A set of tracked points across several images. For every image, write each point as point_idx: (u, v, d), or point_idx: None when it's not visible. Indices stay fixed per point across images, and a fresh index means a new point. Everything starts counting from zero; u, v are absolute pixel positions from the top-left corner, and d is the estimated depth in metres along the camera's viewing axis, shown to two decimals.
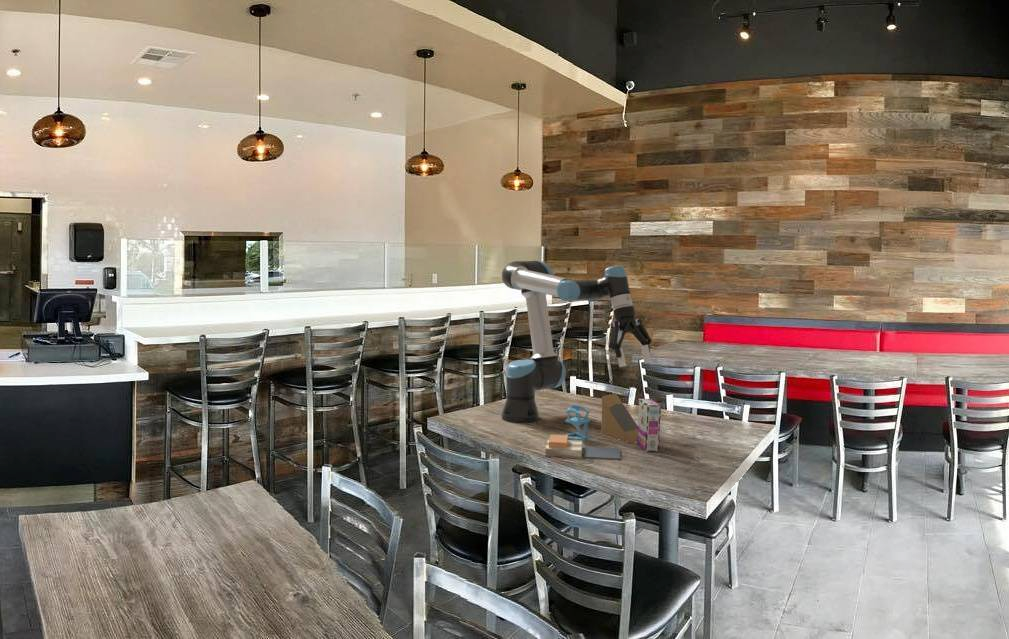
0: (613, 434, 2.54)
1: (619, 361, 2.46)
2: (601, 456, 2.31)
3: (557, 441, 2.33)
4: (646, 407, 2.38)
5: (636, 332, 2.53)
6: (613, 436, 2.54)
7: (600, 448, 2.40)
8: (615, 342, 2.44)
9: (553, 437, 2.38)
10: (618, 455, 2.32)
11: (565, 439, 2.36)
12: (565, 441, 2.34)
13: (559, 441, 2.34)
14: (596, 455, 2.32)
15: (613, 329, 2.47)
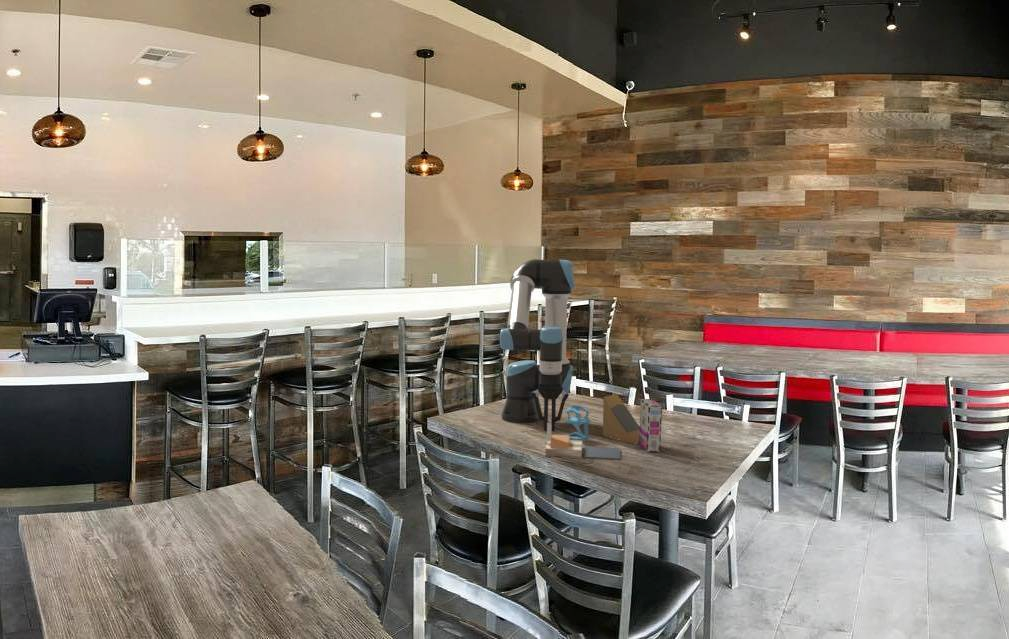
0: (615, 435, 2.53)
1: None
2: (601, 456, 2.31)
3: (558, 441, 2.33)
4: (647, 408, 2.37)
5: None
6: (615, 437, 2.53)
7: (600, 448, 2.40)
8: (539, 415, 2.36)
9: (555, 437, 2.38)
10: (618, 455, 2.32)
11: (567, 439, 2.36)
12: (566, 441, 2.33)
13: (561, 441, 2.33)
14: (596, 455, 2.32)
15: None
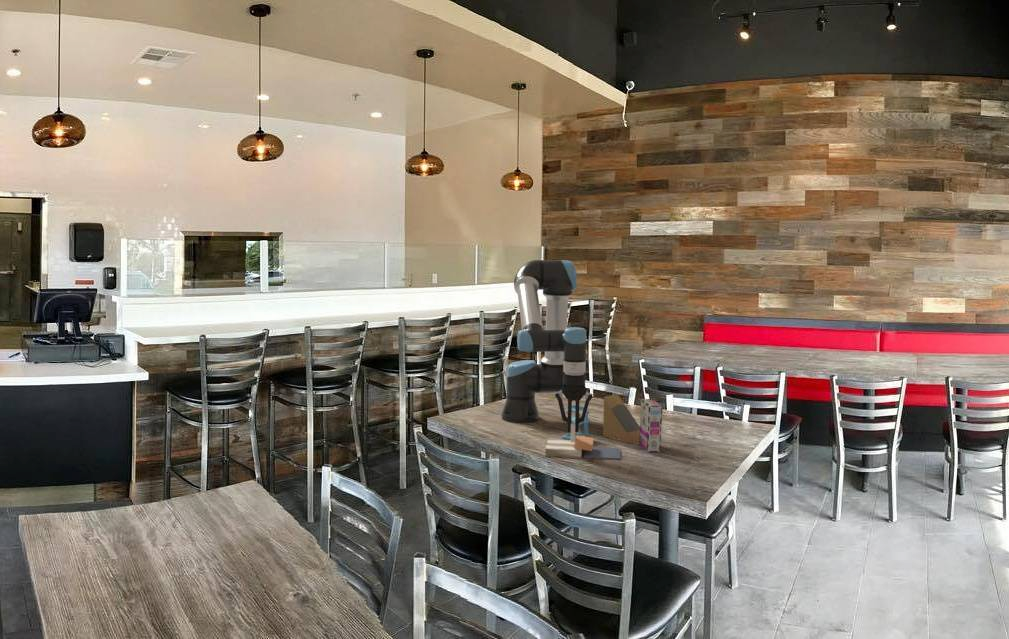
0: (615, 435, 2.53)
1: None
2: (601, 456, 2.31)
3: (583, 443, 2.32)
4: (647, 408, 2.37)
5: None
6: (615, 437, 2.53)
7: (600, 448, 2.40)
8: (563, 416, 2.35)
9: (579, 438, 2.37)
10: (618, 455, 2.32)
11: (591, 441, 2.35)
12: (591, 444, 2.32)
13: (585, 443, 2.32)
14: (596, 455, 2.32)
15: None
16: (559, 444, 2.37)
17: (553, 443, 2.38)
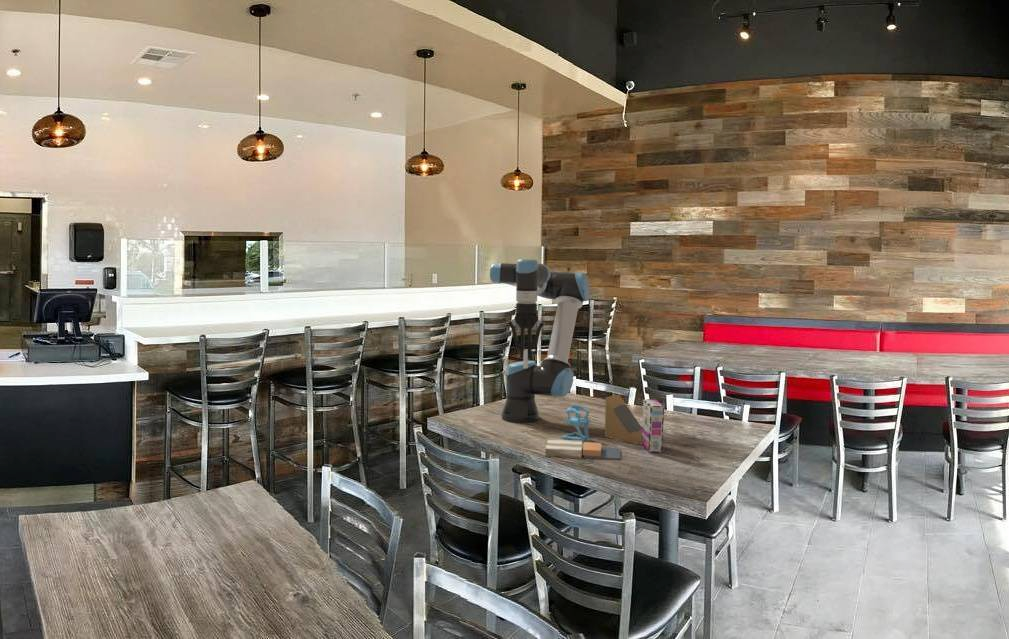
0: (617, 435, 2.53)
1: None
2: (601, 456, 2.31)
3: (591, 449, 2.32)
4: (649, 408, 2.37)
5: None
6: (617, 437, 2.53)
7: None
8: (516, 344, 2.48)
9: (587, 445, 2.36)
10: (618, 455, 2.32)
11: (599, 447, 2.35)
12: (599, 449, 2.32)
13: (593, 449, 2.32)
14: None
15: None
16: (559, 444, 2.37)
17: (553, 443, 2.38)
